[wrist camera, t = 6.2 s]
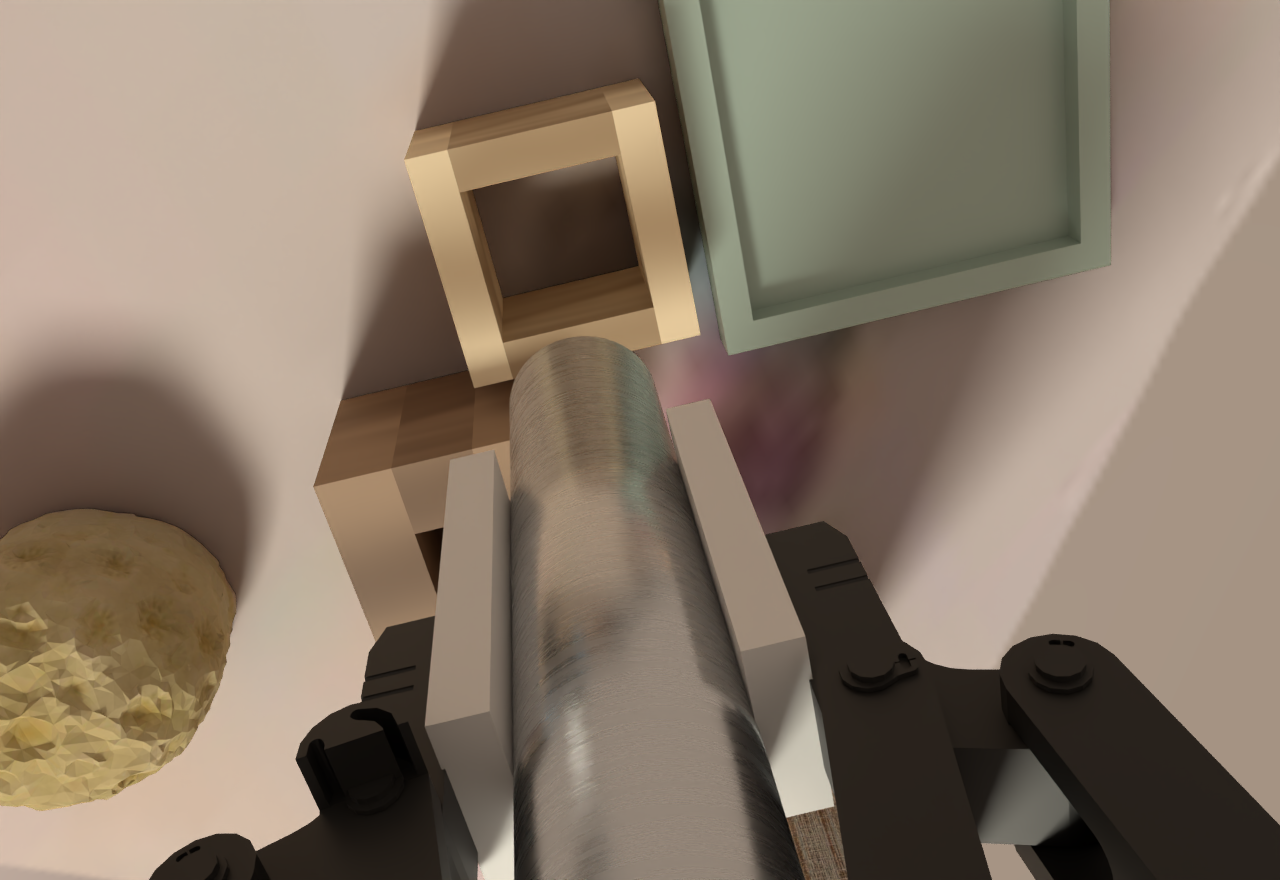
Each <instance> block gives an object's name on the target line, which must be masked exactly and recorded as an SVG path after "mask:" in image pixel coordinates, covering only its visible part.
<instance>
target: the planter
mask: <svg viewBox="0 0 1280 880" xmlns="http://www.w3.org/2000/svg"><path fill="white" fill-rule="evenodd" d="M831 790H832V788H831ZM832 796H833V802H834V806H833V807H829V808H825V809H821V810H816V811H812V812H808V813H804V814H800V815H795V816H791V817H787V818H786V819H787V822H788V825H789V829H790V832H791V835H792V839H793V842H794V845H795V848H796V852H797V855H798V858H799V862H800V865H801V868H802V871H803V875H804V878H805V880H848V876H847V870H846V864H845V857H844V851H843V844H842V838H841V832H840V825H839V819H838V813H837V806H836V800H835V796H834V794H833V791H832Z"/></svg>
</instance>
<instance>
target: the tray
mask: <svg viewBox="0 0 1280 880" xmlns="http://www.w3.org/2000/svg"><path fill="white" fill-rule="evenodd" d="M658 5H659V10H660V16H661V21H662V27H663V32H664V37H665V43H666V48H667V53H668V59H669V64H670V70H671V75H672V80H673V86H674V91H675V96H676V102H677V107H678V113H679V118H680V123H681V129H682V134H683V139H684V145H685V150H686V156H687V161H688V166H689V172H690V177H691V183H692V188H693V193H694V199H695V204H696V209H697V215H698V220H699V226H700V231H701V236H702V242H703V247H704V252H705V258H706V263H707V269H708V274H709V279H710V285H711V290H712V295H713V301H714V306H715V312H716V317H717V322H718V328H719V333H720V339H721V341H722V343H723V345H724V347H725V349H726V351H727V353H728V355H733V354H737V353H742V352H746V351H750V350H754V349H758V348H763V347H767V346H771V345H775V344H780V343H784V342H788V341H792V340H796V339H801V338H805V337H809V336H813V335H818V334H822V333H826V332H830V331H835V330H839V329H843V328H847V327H851V326H856V325H860V324H864V323H868V322H873V321H877V320H881V319H885V318H889V317H894V316H898V315H902V314H906V313H911V312H915V311H919V310H923V309H927V308H932V307H936V306H940V305H944V304H949V303H953V302H957V301H961V300H965V299H970V298H974V297H978V296H982V295H987V294H991V293H995V292H999V291H1003V290H1008V289H1012V288H1016V287H1020V286H1025V285H1029V284H1033V283H1037V282H1042V281H1046V280H1050V279H1054V278H1058V277H1063V276H1067V275H1071V274H1075V273H1080V272H1084V271H1088V270H1092V269H1096V268H1101V267H1105V266H1109V265H1111V182H1110V0H658Z"/></svg>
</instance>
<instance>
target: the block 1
mask: <svg viewBox="0 0 1280 880" xmlns="http://www.w3.org/2000/svg"><path fill="white" fill-rule="evenodd" d="M514 381H515V379H512V380H507V381H503V382H499V383H495V384H490V385H486V386H482V387H478V388H474V386H473V382H472V379H471V376H470V373H469V371H464V372H460V373H456V374H452V375H447V376H443V377H439V378H435V379H430V380H426V381H422V382H418V383H414V384H409V385H405V386H401V387H397V388H392V389H388V390H384V391H380V392H375V393H371V394H367V395H363V396H359V397H354V398H350V399H346V400H342V401H341V402H340V405H339V408H338V411H337V415H336V418H335V421H334V424H333V427H332V430H331V433H330V437H329V440H328V443H327V446H326V449H325V452H324V455H323V459H322V462H321V465H320V468H319V471H318V474H317V477H316V481H315V484H314V489H315V492H316V494H317V497H318V499H319V502H320V504H321V507H322V509H323V512H324V514H325V517H326V519H327V522H328V524H329V527H330V529H331V532H332V534H333V537H334V539H335V542H336V544H337V547H338V549H339V552H340V554H341V556H342V559H343V561H344V564H345V566H346V569H347V571H348V574H349V576H350V579H351V581H352V584H353V586H354V589H355V591H356V594H357V596H358V599H359V601H360V604H361V606H362V609H363V611H364V614H365V616H366V619H367V621H368V624H369V626H370V629H371V631H372V634H373V636H374V639H375V641H376V642H377V640H378V639H379V637H380V636H381V635H382V633H383V632H384V630H385V629H386V627H389V626H394V625H398V624H402V623H406V622H410V621H415V620H419V619H423V618H427V617H432V616H435V613H436V602H437V592H438V581H439V571H440V560H441V550H442V539H443V529H444V518H445V508H446V497H447V486H448V476H449V465H450V460H452V459H456V458H460V457H465V456H469V455H473V454H477V453H482V452H486V451H490V450H494V451H495V454H496V457H497V460H498V464H499V467H500V470H501V473H502V477H503V480H504V483H505V487H506V490H507V493H508V496H509V500H510V415H509V403H510V394H511V390H512V386H513V383H514Z"/></svg>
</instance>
